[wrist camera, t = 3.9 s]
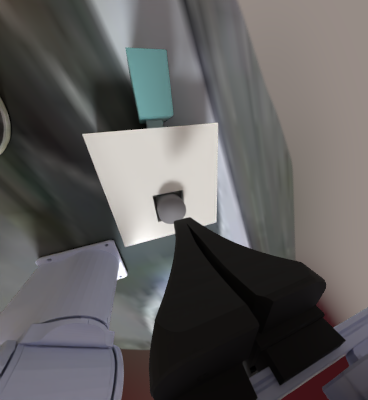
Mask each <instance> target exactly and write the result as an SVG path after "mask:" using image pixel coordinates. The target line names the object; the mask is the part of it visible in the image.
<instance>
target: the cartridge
mask: <svg viewBox="0 0 368 400" xmlns="http://www.w3.org/2000/svg"><path fill="white" fill-rule="evenodd" d="M126 54H127V61H128V67H129V73H130V79H131V84H132V89H133V94H134V98H135V103H136V108H137V113H138V118H139V123H140V124H146V128H147V129H149V128H161V127H163V122H165V121H167V120H168V119H169V118H170V117H172V116H173V106H172V97H171V87H170V78H169V69H168V59H167V50H164V49H144V48H126ZM160 195H161V194H159V195H157V197H159V196H160Z"/></svg>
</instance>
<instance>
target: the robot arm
mask: <svg viewBox="0 0 368 400" xmlns="http://www.w3.org/2000/svg"><path fill="white" fill-rule="evenodd" d="M174 229H175V236H176V243H175V253H174V259H173V264H172V269H171V273H170V277H169V280H168V284H167V287H166V290H165V294H164V297H163V299H162V302H161V305H160V308H159V310H158V313H157V316H156V319H155V324H154V329H153V335H152V341H151V348H150V358H149V376H150V393H151V396H152V397H153V398H154V400H280V399H281V398H283V397H285V396H286V395H287V394H289V393H290V392H292V391H293V390H295V389H296V388H298V387H299V386H301V385H302V384H304V383H305V382H307V381H308V380H310V379H311V378H312V377H314V376H315V375H317V374H318V373H320V372H321V371H322V370H324V369H326V368H327V367H328V366H330V365H331V364H333V363H334V362H336V361H337V360H339V359H340V358H342V357H343V356H345V355H346V359H347V361H348V363H349V367H348V368H347V369H346V370H344V371H343V372H342V373H340V374H339V375H338V376H337V377H335V378H334V379H333V380H331V381H330V382H329V383H327V384H326V385H325V386H323V387H322V388H323V392H324V393H325V394H326V395H327V397H328V399H329V400H368V307H367V308H366V309H364V310H362V311H361V312H359V313H357V314H356V315H354V316H352V317H351V318H349V319H348V320H346V321H344V322H342V323H340V324H339V325H337V326H335V327H334V328H333V327H332V326H331V325H330V324H329V323H328V322H327V321H326V320H324V319H323V318H322V317H324V313H323V312H322V311H321V310H320V309H319V308H318V307H317V306H316V304H317V302H318V301H319V299H320V297H321V296H322V294H323V293H324V291H325V289H326V282H325V280H324V279H323V278H322V277H320V276H319V275H318V274H316V273H315V272H314V271H312V270H311V269H310V268H308V267H307V266H306V265H304V264H303V263H301V262H298V261H293V260H289V259H285V258H280V257H276V256H273V255H269V254H266V253H262V252H259V251H256V250H253V249H250V248H247V247H244V246H242V245H239V244H237V243H234V242H232V241H230V240H228V239H226V238H224V237H222V236H220V235H218V234H216V233H214V232H212V231H211V230H209V229H207V228H206V227H204V226H203V225H201V224H200V223H198V222H197V221H195V220H194V219H192V218H191V217H188V218H184V219H180V220H176V221H174ZM106 244H108V245H106ZM36 264H37V265H38V266H39V267H38V268H37V269H36V270H35V272H34V273H33V274H32V275H31V277H30V278H29V279H28V280H27V282H26V283H25V284H24V285H23V286H22V288H21V289H20V290H19V291H18V293H17V294H16V295H15V296H14V298H13V299H12V300H11V301H10V303H9V304H8V305H7V306H6V307H5V309H4V310H3V311H2V312H1V314H0V400H121V396H122V390H123V380H124V367H123V358H122V353H121V350H120V348H119V347H118V346H116V345H113V342H114V334H115V332H114V331H110V330H109V325H110V319H111V313H112V307H113V301H114V295H115V289H116V283H117V280H118V279H121V278H124V277H126V276H127V271H126V268H125V266H124V264H123V261H122V259H121V256H120V254H119V252H118V249H117V247H116V245H115V242H114V241H113V240H108V241H104V242H100V243H96V244H92V245H88V246H84V247H80V248H76V249H72V250H68V251H64V252H60V253H56V254H52V255H48V256H44V257H41V258H38V259H37V260H36Z"/></svg>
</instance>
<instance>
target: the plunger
mask: <svg viewBox="0 0 368 400" xmlns="http://www.w3.org/2000/svg"><path fill="white" fill-rule="evenodd" d="M156 206H157V210H158V214H159V218H160V219H161V220H162V221H163V222H164V223H167V224H174V221H176V220H180V219H183V218H184V216H185V214H186V206H185V204H184V203H183V201H182V200H181V198H180V197H179V196H178V195H177V194H176V193H174V192H170V193H165V194H161V195H160V196H159V197H158V199H157V202H156Z"/></svg>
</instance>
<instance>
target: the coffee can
mask: <svg viewBox="0 0 368 400" xmlns="http://www.w3.org/2000/svg"><path fill="white" fill-rule="evenodd" d="M10 136H11V125H10V119H9V115H8V112H7V110H6V107H5V105H4V103H3V101H2V99H1V97H0V155H1V154H2V153H3V151H4V150H5V149H6V147H7V145H8V143H9V141H10Z"/></svg>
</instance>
